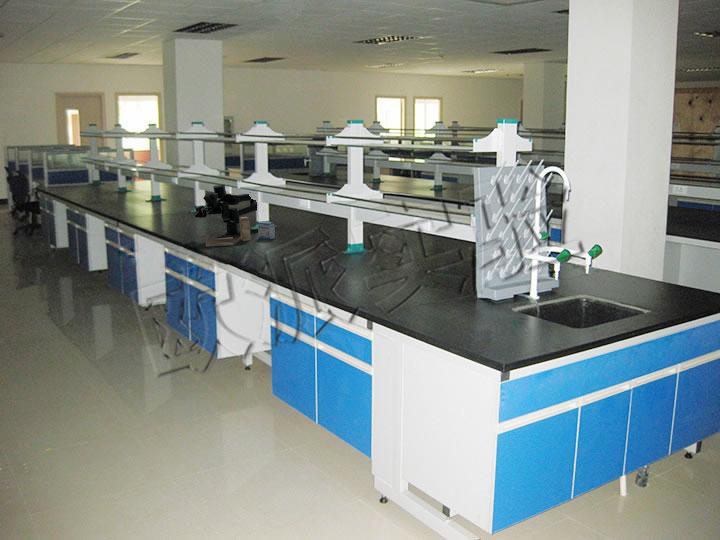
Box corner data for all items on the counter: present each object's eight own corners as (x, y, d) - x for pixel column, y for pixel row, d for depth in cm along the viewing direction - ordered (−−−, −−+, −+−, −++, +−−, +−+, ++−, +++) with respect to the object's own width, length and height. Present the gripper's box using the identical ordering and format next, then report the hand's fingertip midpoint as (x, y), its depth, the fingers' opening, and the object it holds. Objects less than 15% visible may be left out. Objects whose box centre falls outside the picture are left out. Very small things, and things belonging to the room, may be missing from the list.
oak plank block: (240, 239, 370) (239, 217, 368) (247, 238, 372) (246, 216, 370) (243, 240, 367) (242, 218, 364) (250, 240, 369) (249, 217, 366)
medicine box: (258, 238, 373) (257, 222, 371) (263, 237, 376) (262, 221, 374) (270, 239, 369) (269, 223, 367) (275, 238, 373) (274, 222, 371)
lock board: (206, 241, 367) (205, 235, 366) (232, 240, 370) (232, 233, 369) (205, 246, 354) (205, 239, 353) (233, 244, 356) (233, 238, 356)
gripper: (201, 194, 380) (183, 203, 367) (226, 188, 371) (208, 197, 358) (208, 213, 383) (190, 223, 371) (234, 207, 374) (216, 217, 361)
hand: (201, 215), depth 365 cm, fingers open, 9 cm apart
